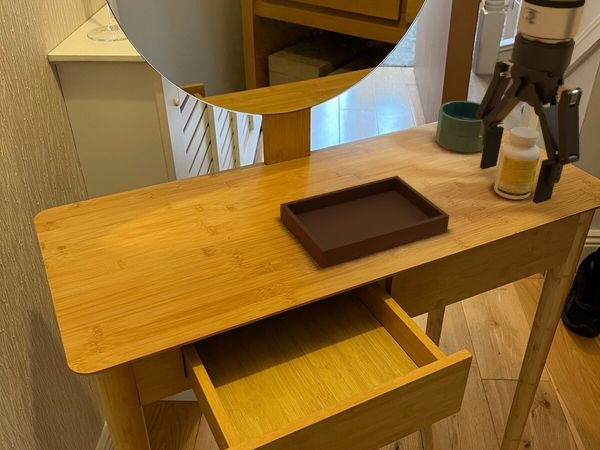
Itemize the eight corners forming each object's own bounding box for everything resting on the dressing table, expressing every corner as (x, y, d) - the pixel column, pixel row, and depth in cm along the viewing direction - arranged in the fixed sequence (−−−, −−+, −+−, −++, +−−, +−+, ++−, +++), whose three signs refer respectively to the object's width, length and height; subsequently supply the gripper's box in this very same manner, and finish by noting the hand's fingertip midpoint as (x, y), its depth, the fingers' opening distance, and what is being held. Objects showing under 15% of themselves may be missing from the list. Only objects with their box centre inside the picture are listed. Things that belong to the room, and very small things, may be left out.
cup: (496, 141, 109) (502, 109, 106) (474, 159, 103) (480, 125, 100) (449, 128, 114) (454, 96, 111) (426, 144, 108) (430, 112, 105)
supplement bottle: (536, 199, 92) (551, 139, 87) (501, 201, 92) (513, 140, 87) (521, 182, 97) (535, 123, 92) (488, 183, 96) (499, 124, 91)
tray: (395, 190, 95) (397, 175, 93) (447, 231, 85) (449, 215, 84) (280, 219, 87) (280, 203, 86) (322, 268, 78) (322, 251, 76)
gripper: (465, 17, 89) (445, 156, 101) (595, 65, 72) (552, 226, 83) (506, 11, 92) (482, 147, 104) (641, 56, 74) (593, 214, 86)
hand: (513, 182), depth 94 cm, fingers open, 11 cm apart
